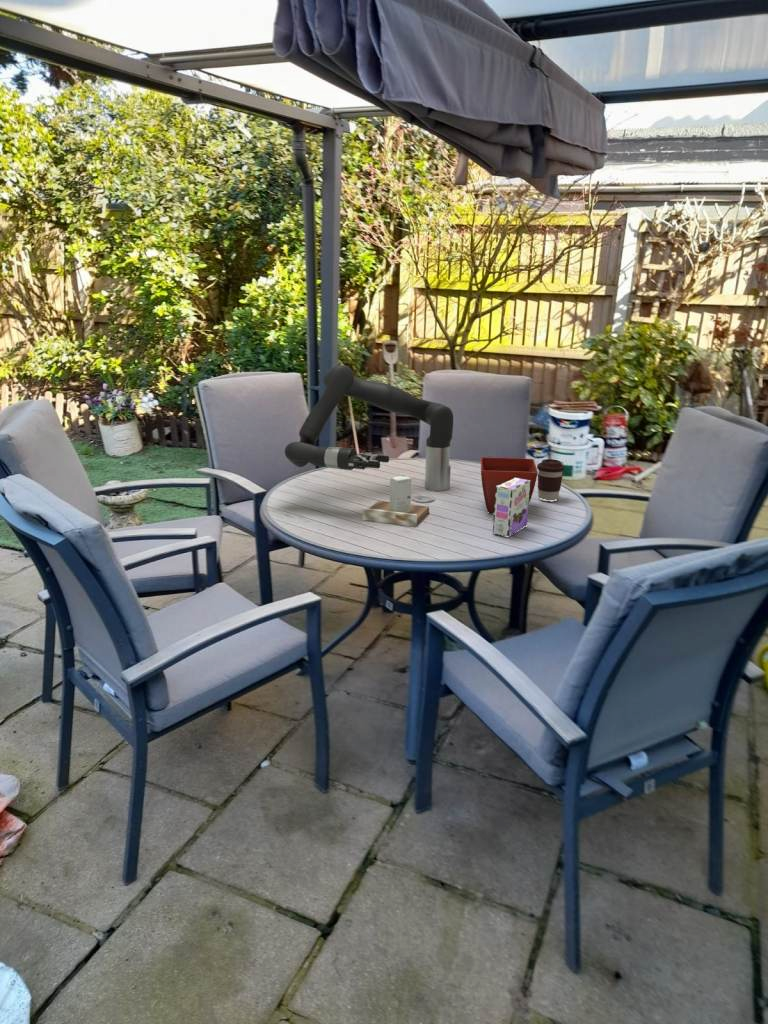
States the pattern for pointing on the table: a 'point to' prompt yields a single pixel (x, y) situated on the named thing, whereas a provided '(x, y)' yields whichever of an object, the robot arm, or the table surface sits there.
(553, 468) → the coffee cup
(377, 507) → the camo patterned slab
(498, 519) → the candy box
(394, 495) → the skincare box
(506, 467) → the plant pot
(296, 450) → the robot arm
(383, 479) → the table surface
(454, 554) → the table surface
